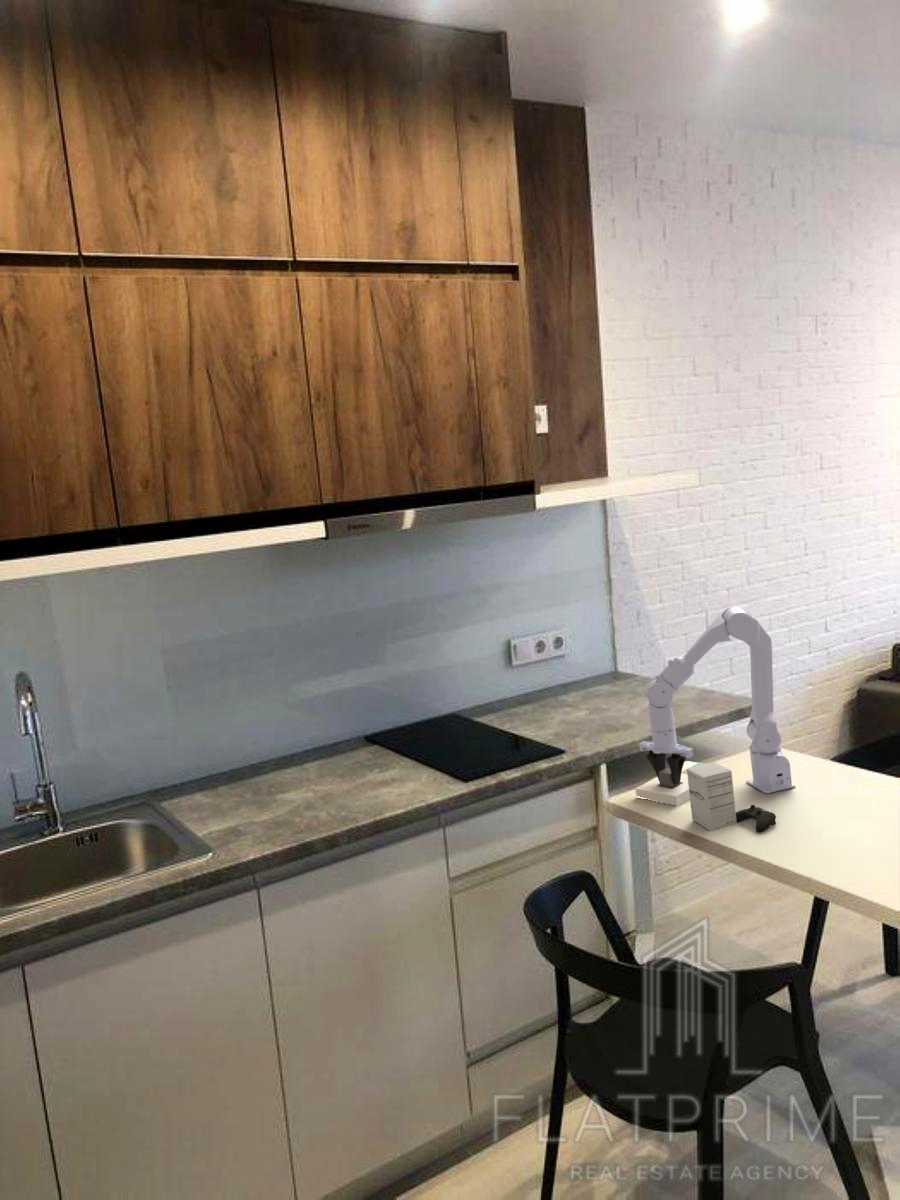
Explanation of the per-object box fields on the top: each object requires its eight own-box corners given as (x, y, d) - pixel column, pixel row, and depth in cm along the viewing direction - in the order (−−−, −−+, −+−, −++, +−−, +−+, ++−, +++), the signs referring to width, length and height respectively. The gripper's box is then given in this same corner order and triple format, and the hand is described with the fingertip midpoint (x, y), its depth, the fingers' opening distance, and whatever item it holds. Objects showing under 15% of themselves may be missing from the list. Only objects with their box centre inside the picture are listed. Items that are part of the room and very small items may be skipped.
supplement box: (691, 820, 211) (685, 768, 210) (719, 813, 213) (714, 760, 212) (708, 831, 204) (702, 777, 203) (738, 823, 206) (732, 769, 204)
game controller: (727, 819, 208) (740, 796, 209) (743, 830, 210) (756, 807, 211) (757, 831, 199) (770, 807, 200) (773, 843, 201) (786, 819, 202)
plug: (672, 797, 227) (669, 774, 226) (661, 795, 230) (658, 772, 229) (682, 792, 230) (679, 769, 229) (670, 790, 232) (667, 767, 232)
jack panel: (677, 806, 221) (676, 795, 221) (636, 798, 230) (635, 787, 230) (727, 776, 235) (726, 766, 235) (687, 770, 244) (686, 760, 244)
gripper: (629, 730, 230) (636, 782, 232) (678, 736, 219) (685, 791, 221) (646, 722, 235) (652, 773, 237) (695, 728, 224) (701, 781, 226)
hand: (669, 781), depth 229 cm, fingers open, 4 cm apart
